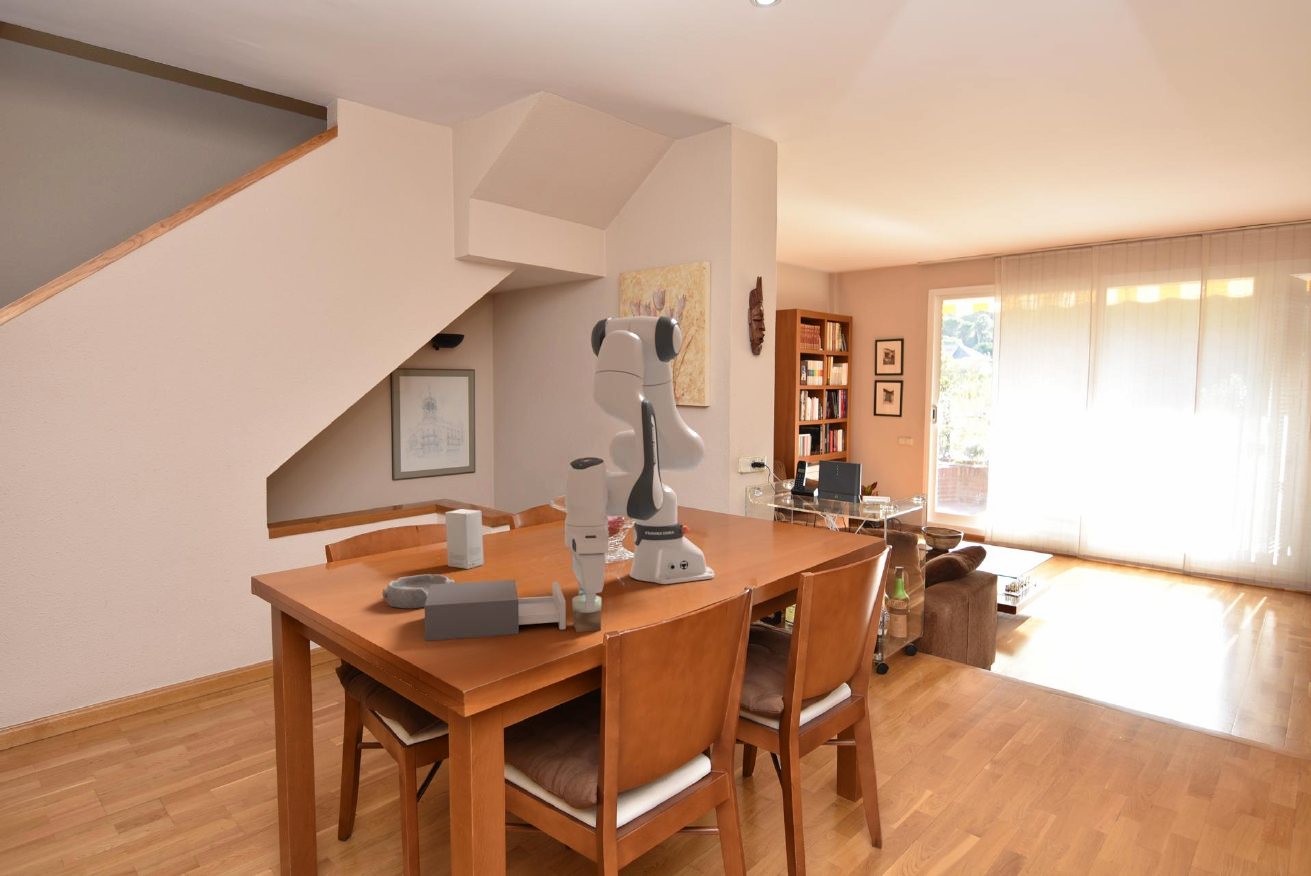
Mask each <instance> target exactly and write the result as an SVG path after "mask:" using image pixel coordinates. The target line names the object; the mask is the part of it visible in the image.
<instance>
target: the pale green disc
mask: <svg viewBox="0 0 1311 876" xmlns="http://www.w3.org/2000/svg"><path fill="white" fill-rule="evenodd" d="M571 599H572V603H571V604H572V605H571V607H572V611H573V610H574V611H576V612H581V613H590V612H596V611H599V610H602V596H599V595H596V599H595V609H594V610H593V611H587V610H586V608H585V595H580V596H579V595H575V596H574V597H572V598H571Z"/></svg>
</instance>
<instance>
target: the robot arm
mask: <svg viewBox="0 0 1311 876" xmlns="http://www.w3.org/2000/svg"><path fill="white" fill-rule="evenodd" d="M590 337H591V338H590V339H591V340H590V341H591V342H590V343H591V348H592V349H591V350H592V352H593V354H594V355H595V356H596V358H597V359H596V364H595V368H594V374H593V375H594V376H593V384H592V397H593V398H592V399H593V401H594V403H595V404H596V406H597V407H598V408H599V410H600V411H602V412H603V413H604V414H605V415H606V416H609V417H610V418H612V419H614V420H617V421H619V422H621V423H624V424H626V425H628V426H630V427H631V428H632V429H629V430H628V429H627V430H624V431H618V432H616V433H615V434H614V435H613V437H612V438H611V440H610V443H609V446H608V453H609V458H610V461H611V462H612V463H613V465H614V466H615V467H617V468H618V469H619V470H620V471H611V470H608V469H607V466H606V462H605V460H604V459H602V458H599V457H589V456H588V457H587V456H586V457H582V458H581V457H580V458H576V459H574V460H572V461H571V462H570V463H569V464H568V468H567V471H566V475H565V477H566V478H565V488H564V489H565V490H564V504H565V506H566V507H565V508H566V516H565V519H564V546H565V547H566V548H568V549H570V554H571V558H572V559H571V560H572V561H571V566H572V572H573V573H574V575H575V577H576V579H577V585H578V596H580V595H585V608H586V610H587V611H593V610H594V609H595V599H596V596H597V593H598V594H599V593H602V591H603V588H604V584H605V583H604V582H605V574H606V573H605V571H606V554H608V553H609V520H608V519H609V518H608V517H620V518H629V519H634V520H635V522H634V523H633V543H634V550H633V551H634V553H633V559H632V564H631V568H630V571H629V577H630V578H633V579H635V580H638V581H643V582H651V583H656V584H660V585H669V584H677V583H686V582H693V581H702V580H712V579H714V578H715V571H714V570H713V569H712V568H711V567H709V566H708V565H707V564H706V563H707V562H706V558H705V555H704V552H703V551H702V550H701V549H700V548H699V547H698V546H697V545H695V544H694V543H693V542H692V541H691V540H689V539H688V538H686V536H685V535H688V534H689V533H690V531H691V530H690V527H689V526H687V525H684V524H681V523H679V522H678V496H677V494H676V491H674V490H673V489H672V487H670V486H669V485H666V484H664V483H663V482H662V478H661V472H671V473H672V472H675V473H682V472H688V471H694V470H697V469H698V468H699V467H700V466H701V465H702V463H703V461H704V460H705V456H706V446H705V442H704V441H703V438H702V437H701V436H700V435H699V434H698V433H697V432H695V431H694V430H693V429H692V428H691V427H689V426H688V425H687V423H686V422H685V421H684V420H683V419H682V417H681V415H680V413H679V411H678V409H677V406H676V405H677V404H676V400H675V391H674V381H673V380H674V379H673V370H672V364H671V361H672V360H675V358H676V357H677V356H678V355H679V354H680V352H681V348H682V345H683V344H682V343H683V335H682V331H681V326H680V324H679V323H678V322H677V320H676V319H675V318H673V317H668V316H664V315H663V316H662V315H661V316H660V317H659V316H650V315H635V316H623V317H616V318H612V317H608V318H604V319H600V320H599V321H597V323H596V324H595V325H594V326H593V328H592V331H591V335H590Z"/></svg>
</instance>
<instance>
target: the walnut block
mask: <svg viewBox="0 0 1311 876" xmlns="http://www.w3.org/2000/svg"><path fill="white" fill-rule="evenodd" d="M601 610H602V609H601ZM601 610H599V611H596V612H590V613H581V612H576V611H574V610H573V609H572V611H573V612H572V613H573V616H572V617H573V621H572V622H573V623H572V624H573V627H574V629H575V632H576V633H579V632H580V633H582V632H593V631H596V632H597V631H601V630H602V629H601V628H602V627H601V626H602V619H601V618H602V617H601V616H602V611H601Z"/></svg>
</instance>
